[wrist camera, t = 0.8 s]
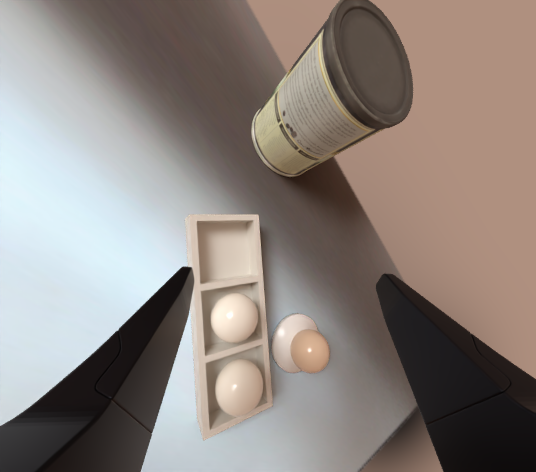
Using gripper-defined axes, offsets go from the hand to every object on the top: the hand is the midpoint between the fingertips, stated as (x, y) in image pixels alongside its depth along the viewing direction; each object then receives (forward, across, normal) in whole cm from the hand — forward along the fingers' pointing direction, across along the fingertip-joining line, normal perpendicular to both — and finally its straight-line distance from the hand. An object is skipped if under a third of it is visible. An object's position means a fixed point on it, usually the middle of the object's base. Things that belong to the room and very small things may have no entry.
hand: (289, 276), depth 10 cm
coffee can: (+25, -2, 0) cm, 25 cm away
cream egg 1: (+6, +4, +13) cm, 15 cm away
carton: (+7, +4, +14) cm, 16 cm away
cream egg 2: (+2, +3, +18) cm, 19 cm away
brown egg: (+6, -5, +20) cm, 21 cm away
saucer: (+6, -5, +20) cm, 22 cm away
